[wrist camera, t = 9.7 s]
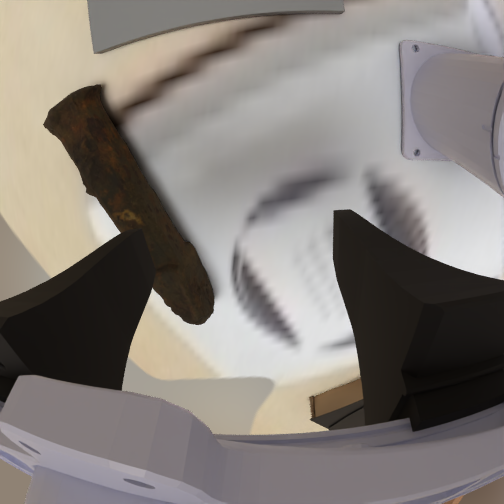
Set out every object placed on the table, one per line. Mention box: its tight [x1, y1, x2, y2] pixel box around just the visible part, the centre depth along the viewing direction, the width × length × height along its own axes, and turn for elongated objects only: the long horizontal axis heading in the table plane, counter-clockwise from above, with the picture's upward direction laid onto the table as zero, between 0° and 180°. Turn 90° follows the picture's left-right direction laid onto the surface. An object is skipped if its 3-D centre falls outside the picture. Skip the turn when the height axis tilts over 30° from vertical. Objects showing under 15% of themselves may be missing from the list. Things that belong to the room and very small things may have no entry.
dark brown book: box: [309, 353, 504, 431], centre depth 31 cm, size 33×4×24 cm
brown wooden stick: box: [43, 85, 214, 325], centre depth 19 cm, size 19×4×5 cm, turn 24°
